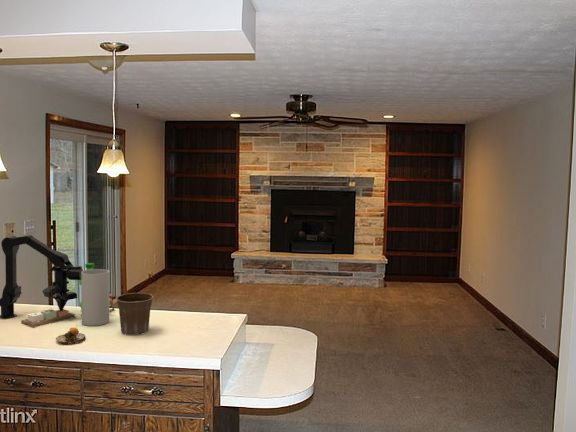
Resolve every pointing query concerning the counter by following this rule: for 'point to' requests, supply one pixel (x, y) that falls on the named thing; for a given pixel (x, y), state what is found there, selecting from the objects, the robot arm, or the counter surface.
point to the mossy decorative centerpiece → (71, 337)
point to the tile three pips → (62, 313)
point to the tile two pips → (49, 314)
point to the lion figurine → (111, 303)
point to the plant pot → (134, 312)
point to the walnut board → (47, 320)
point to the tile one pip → (35, 317)
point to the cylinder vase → (95, 297)
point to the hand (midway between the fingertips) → (61, 310)
